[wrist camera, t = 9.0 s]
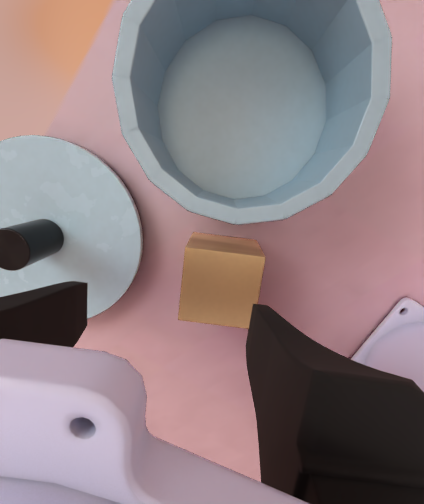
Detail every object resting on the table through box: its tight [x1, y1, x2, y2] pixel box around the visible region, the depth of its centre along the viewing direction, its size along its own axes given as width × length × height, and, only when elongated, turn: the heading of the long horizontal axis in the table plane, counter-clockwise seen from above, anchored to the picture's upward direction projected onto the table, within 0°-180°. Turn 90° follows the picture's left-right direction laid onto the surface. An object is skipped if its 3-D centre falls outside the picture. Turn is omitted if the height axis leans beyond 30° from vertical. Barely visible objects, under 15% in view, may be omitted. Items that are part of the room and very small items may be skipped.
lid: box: [0, 135, 143, 319], centre depth 18 cm, size 13×13×5 cm
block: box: [178, 232, 266, 329], centre depth 18 cm, size 4×4×4 cm
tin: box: [112, 0, 392, 225], centre depth 15 cm, size 12×12×6 cm
